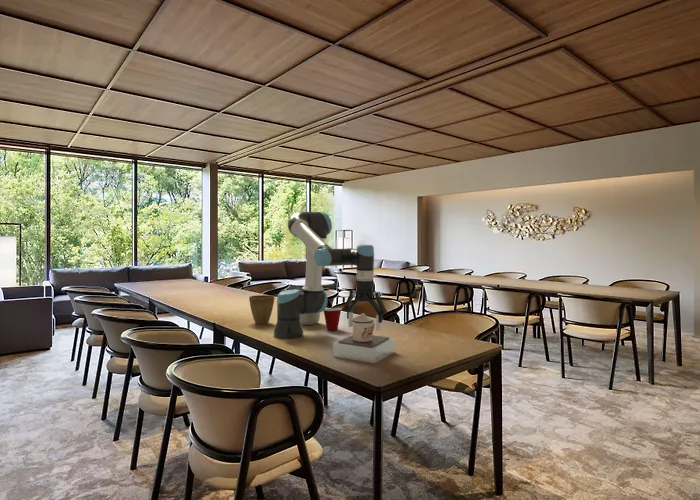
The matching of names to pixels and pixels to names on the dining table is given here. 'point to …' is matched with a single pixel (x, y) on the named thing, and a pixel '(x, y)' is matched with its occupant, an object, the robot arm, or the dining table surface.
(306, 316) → the canister
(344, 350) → the white flat block
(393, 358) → the dining table surface
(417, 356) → the dining table surface
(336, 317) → the plastic cup
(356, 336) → the teacup with lid
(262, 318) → the plant pot
